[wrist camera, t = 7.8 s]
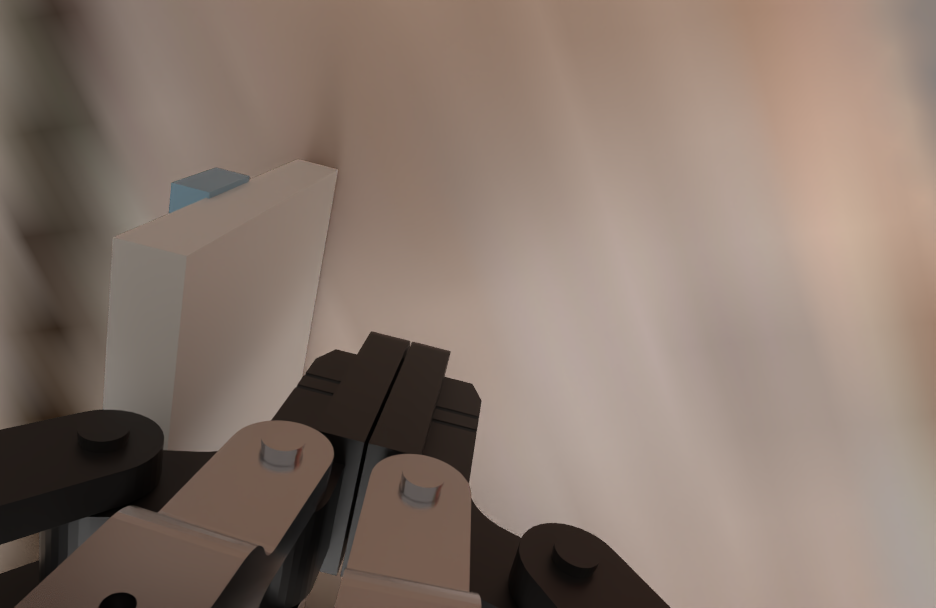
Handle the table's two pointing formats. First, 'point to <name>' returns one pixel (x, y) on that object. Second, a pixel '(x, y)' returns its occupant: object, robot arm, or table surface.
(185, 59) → the table surface
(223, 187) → the side door
